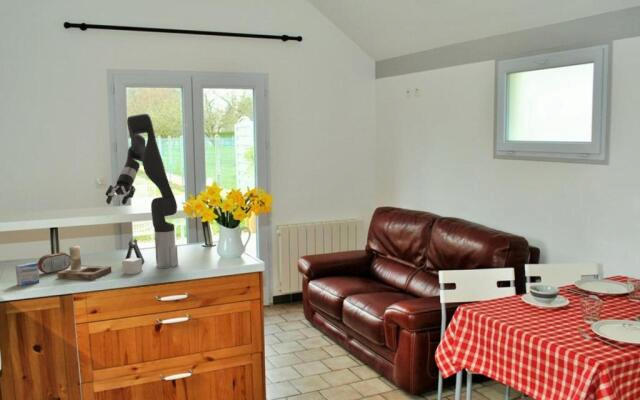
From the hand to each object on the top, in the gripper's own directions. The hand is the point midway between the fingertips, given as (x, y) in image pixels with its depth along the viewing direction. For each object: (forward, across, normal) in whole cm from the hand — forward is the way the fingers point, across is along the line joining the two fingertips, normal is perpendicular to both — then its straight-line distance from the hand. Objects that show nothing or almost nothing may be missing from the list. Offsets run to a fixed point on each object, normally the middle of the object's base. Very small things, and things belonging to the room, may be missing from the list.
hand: (115, 203), depth 294 cm
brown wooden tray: (+40, +1, 0) cm, 41 cm away
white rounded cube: (+34, +20, +7) cm, 40 cm away
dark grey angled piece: (+24, +12, +16) cm, 32 cm away
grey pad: (+39, -4, -2) cm, 39 cm away
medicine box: (+53, -15, -12) cm, 56 cm away
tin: (+39, -17, +2) cm, 42 cm away
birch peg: (+38, -4, -2) cm, 39 cm away
